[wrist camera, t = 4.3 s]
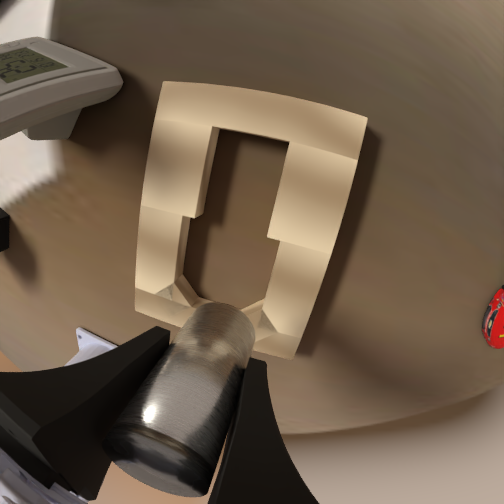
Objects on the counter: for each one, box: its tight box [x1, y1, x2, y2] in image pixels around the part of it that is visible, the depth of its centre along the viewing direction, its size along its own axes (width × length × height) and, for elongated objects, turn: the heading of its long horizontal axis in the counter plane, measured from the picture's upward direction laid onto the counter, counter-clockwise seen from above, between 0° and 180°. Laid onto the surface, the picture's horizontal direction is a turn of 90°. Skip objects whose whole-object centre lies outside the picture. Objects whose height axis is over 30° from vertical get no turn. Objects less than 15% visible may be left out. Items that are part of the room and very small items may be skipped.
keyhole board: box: [135, 81, 368, 360], centre depth 17 cm, size 16×12×2 cm
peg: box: [102, 302, 256, 497], centre depth 9 cm, size 3×3×8 cm
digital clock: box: [0, 37, 123, 140], centre depth 12 cm, size 16×9×11 cm, turn 44°
